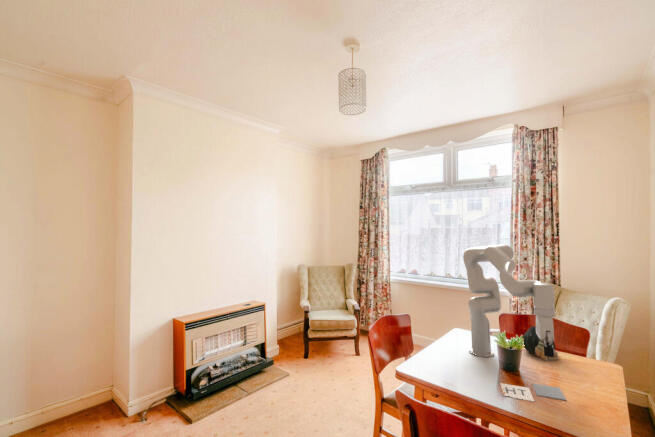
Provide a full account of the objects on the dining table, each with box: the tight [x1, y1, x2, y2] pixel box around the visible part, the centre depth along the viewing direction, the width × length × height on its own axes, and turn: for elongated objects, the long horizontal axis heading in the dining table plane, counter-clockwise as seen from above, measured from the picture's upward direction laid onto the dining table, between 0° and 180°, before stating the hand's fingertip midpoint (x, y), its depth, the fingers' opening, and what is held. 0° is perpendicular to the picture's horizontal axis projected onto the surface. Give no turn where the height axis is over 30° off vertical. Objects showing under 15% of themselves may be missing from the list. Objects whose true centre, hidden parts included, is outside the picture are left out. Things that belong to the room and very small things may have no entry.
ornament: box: [535, 338, 559, 362], centre depth 129 cm, size 8×6×10 cm
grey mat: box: [531, 383, 568, 402], centre depth 128 cm, size 10×10×1 cm
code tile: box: [500, 382, 535, 402], centre depth 129 cm, size 11×11×1 cm
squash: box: [522, 325, 556, 356], centre depth 167 cm, size 14×15×15 cm
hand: (546, 352), depth 129 cm, fingers closed on ornament, 8 cm apart
